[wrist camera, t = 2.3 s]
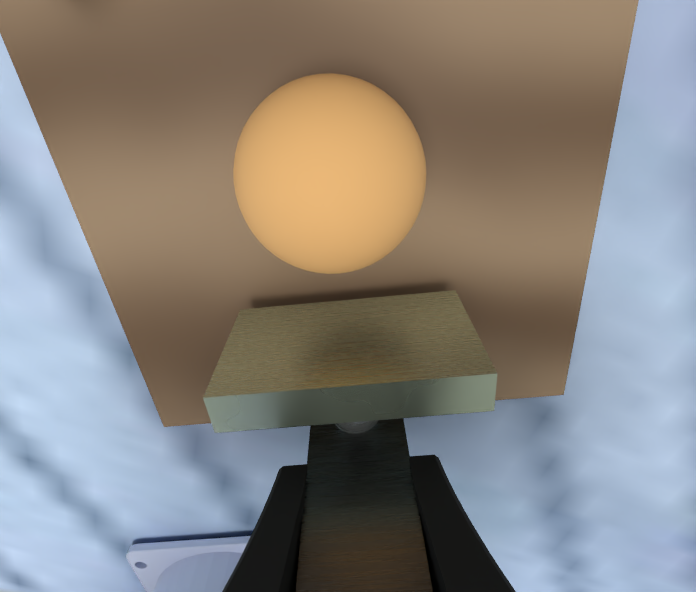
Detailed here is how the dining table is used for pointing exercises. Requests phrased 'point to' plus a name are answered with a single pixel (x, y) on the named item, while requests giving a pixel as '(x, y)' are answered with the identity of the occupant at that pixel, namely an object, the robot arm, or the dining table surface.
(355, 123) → the ball
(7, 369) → the dining table surface
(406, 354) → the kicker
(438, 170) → the brown piece
